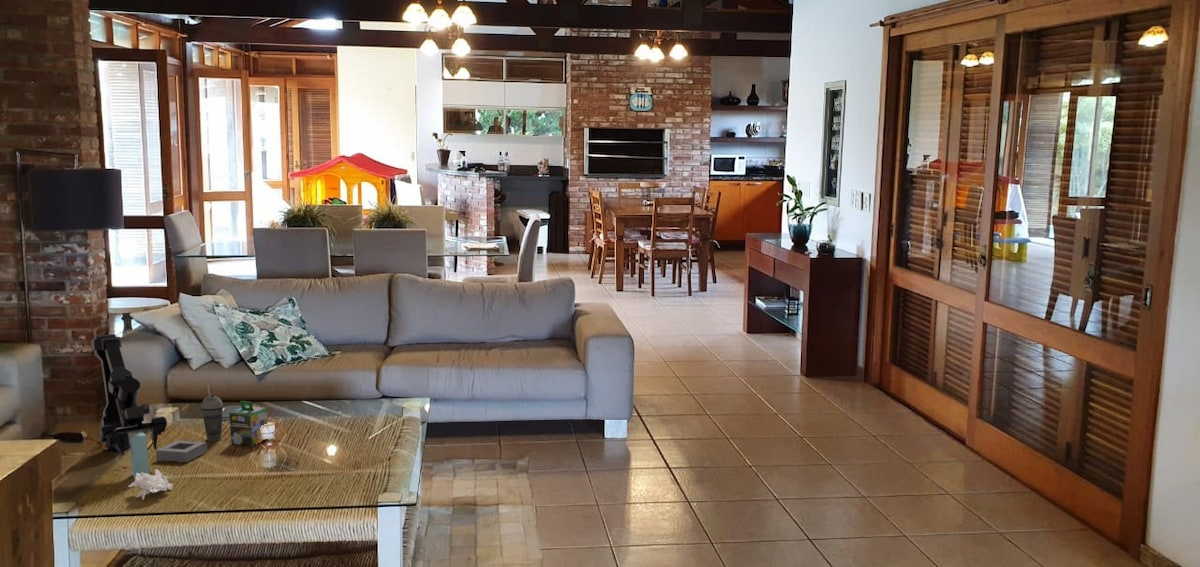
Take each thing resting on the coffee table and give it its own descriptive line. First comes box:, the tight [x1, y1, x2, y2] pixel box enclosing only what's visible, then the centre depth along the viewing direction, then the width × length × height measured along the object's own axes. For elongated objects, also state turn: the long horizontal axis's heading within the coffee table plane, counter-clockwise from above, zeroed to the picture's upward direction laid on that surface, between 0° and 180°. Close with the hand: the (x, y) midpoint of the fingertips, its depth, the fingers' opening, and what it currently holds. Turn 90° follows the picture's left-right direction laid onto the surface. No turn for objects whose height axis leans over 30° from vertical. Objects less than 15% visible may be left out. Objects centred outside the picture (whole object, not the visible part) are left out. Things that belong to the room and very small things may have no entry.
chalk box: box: [229, 400, 269, 447], centre depth 327 cm, size 9×9×15 cm
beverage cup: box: [200, 383, 224, 442], centre depth 329 cm, size 7×7×20 cm
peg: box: [128, 432, 150, 478], centre depth 293 cm, size 4×4×13 cm
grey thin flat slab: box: [222, 403, 261, 420], centre depth 364 cm, size 20×2×15 cm
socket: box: [155, 439, 208, 463], centre depth 312 cm, size 11×11×4 cm
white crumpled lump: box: [128, 469, 174, 501], centre depth 278 cm, size 12×7×12 cm
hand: (139, 451), depth 293 cm, fingers open, 9 cm apart
